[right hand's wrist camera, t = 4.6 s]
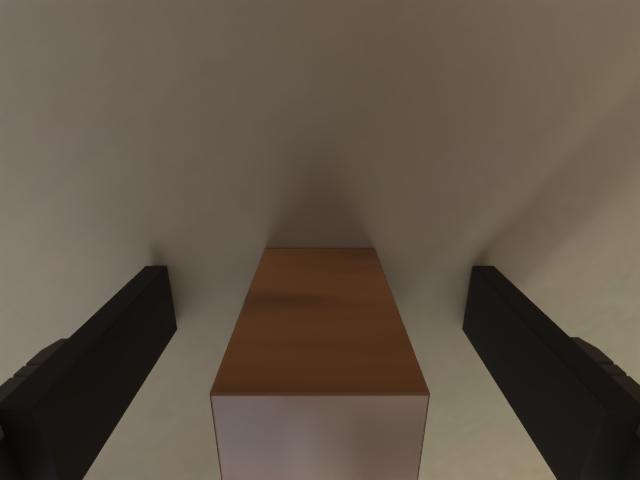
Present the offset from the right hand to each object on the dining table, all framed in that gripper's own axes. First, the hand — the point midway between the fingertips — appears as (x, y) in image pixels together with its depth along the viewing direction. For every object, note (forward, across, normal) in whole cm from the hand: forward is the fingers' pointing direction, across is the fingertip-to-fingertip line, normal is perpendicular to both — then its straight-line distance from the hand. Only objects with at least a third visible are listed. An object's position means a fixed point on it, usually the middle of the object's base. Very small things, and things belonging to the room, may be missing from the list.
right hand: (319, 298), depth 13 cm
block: (0, 0, 0) cm, 0 cm away
